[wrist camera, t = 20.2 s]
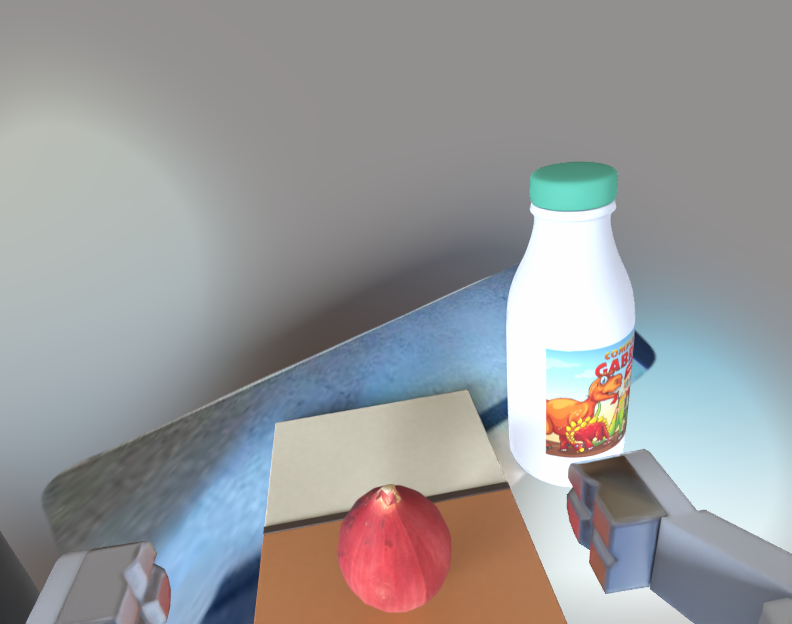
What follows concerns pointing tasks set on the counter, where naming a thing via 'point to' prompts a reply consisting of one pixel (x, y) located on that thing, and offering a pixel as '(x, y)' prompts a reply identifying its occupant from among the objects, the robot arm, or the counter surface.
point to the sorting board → (414, 468)
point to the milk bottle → (569, 326)
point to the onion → (394, 548)
